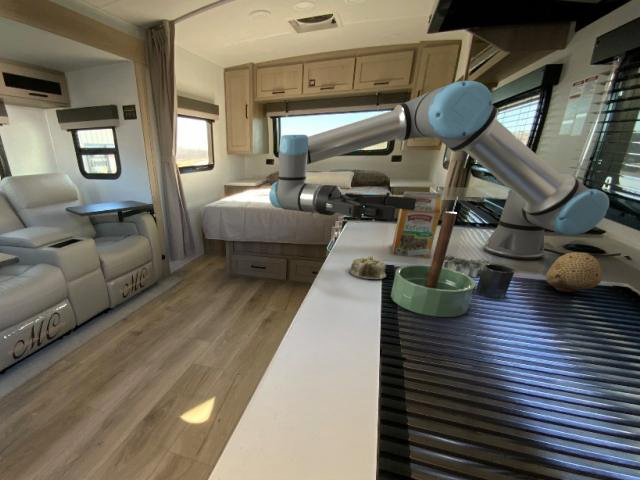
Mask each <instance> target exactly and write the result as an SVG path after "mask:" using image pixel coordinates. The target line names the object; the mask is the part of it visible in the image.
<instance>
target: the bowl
mask: <svg viewBox="0 0 640 480" xmlns="http://www.w3.org/2000/svg"><path fill="white" fill-rule="evenodd" d="M430 267H431V264H408V265H407V264H406V265H402V266H400V267H398V268H397V269H396V270H395V274H394V278H393V283H392V288H391V292H390V297H391V300H392V301H393V302H394V303H395V304H397V306H399V307H402V308H404V309H405V310H408V311H410V312H413V313H415V314H420V315H423V316H430V317H435V318H436V317H438V318H453V317H454V318H455V317H459V316H463V315H465V314H466V313H467V312H468V310H469V308H470V305H471V302H472V299H473V296H474V293H475V291H476V288H477V282H476V281H475V280H474V279H473V277H470V276H468V275H465V274H463V273H461V272H458V271H455V270H452V269H448V268H443V267H442V270H441V274H440V277H439V281H438V284H437V288H436V289H434V288H428V287H425V286H426V282H427V278H428V275H429V271H430Z"/></svg>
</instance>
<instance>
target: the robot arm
mask: <svg viewBox="0 0 640 480" xmlns="http://www.w3.org/2000/svg"><path fill="white" fill-rule="evenodd" d="M498 113H499V109H498V108H497V107H496V106H495V105H494V104H493V95H492V93H491V91H490V89H489V88H488V87H487V86H486V85H485V84H483V83H482V82H479V81H476V80H460V81H455V82H452V83H449V84H448V85H445V86H442V87H437V88H434V89H432V90H430V91H428V92H425V93H424V94H421V95H419V96H418V97H417V96H416V97H415V98H413V99H411V100H408V101H406V102H402V103H400V104H397V105H396V106H395V107H394V108H393V110H390V111H387V112H384V113H380V114H377V115H374V116H370V117H367V118H364V119H361V120H357V121H354V122H352V123H348V124H345V125H342V126H339V127H334V128H332V129H329V130H326V131H322V132H319V133H316V134H313V135H309V136H308V135H307V134H283V135H281V136H280V139H279V146H278V147H279V148H278V154H277V155H278V157H277V158H278V181H275V182H273V183H272V185H271V187H270V191H269V192H268V193H269V194H268V195H269V196H268V197H269V202H270V204H271V205H272V206H273V207H275V208H278V209H281V210H285V211H297V212H304V213H309V215H310V216H312V215H313V214H319V215H323V216H334V215H336V213H337V214H340V215H343V216H346V217H349V218H356V219H355V220H362V218H363V217H366V218H372V219H381V220H387V221H394V219H395V214H396V209H398V210H400V209H406V210H414V208H415V203H416V198H407V197H403V196H394V195H391V193H390V192H386V194H382V193H381V194H377V193H376V194H375V193H374V194H373V193H352V192H345V193H342V190H341V189H340V187H339V186H338V185H334V184H323V183H310V182H309V183H308V182H307V183H306V181H307V166H308V165H310V164H314V163H318V162H321V161H325V160H327V159H331V158H335V157H338V156H341V155H346V154H348V153H349V154H350V153H352V152H356V151H359V150H363V149H366V148H369V147H372V146H377V145H380V144H384V143H388V142H390V141H394V140H397V141H398V142H403V141H407V140H411V139H422V138H429V139H431V138H433V139H437V140H439V141H440V142H441V143H442V144H443V145H445V146H446V147H447V148H448V149H450V150H451V151H452V152H454V153H455V152H456V153H457V152H461V151H463V152H465V153H466V154H467V155H469V156H470V157H471V158H473V160H474V161H476V163H478V164H479V165H480V166H482V167H483V168H484V169H485V170H486V171H487V172H489V173H490V174H491V175H492V176H494V178H496V179H497V180H498V181H499V182H501V183H502V184H503V186H506V188H508V189H509V190H508V192H507V197H506V200H505V203H504V205H503V208H502V212H501V215H500V218H499V222H498V225H497V227H496V228H495V229H494V230H493V232H492V233H491V235H490V236H489V237H488V239H486V240H485V242H484V246H483V250H484V251H485V252H487V253H488V254H492V255H494V256H498V257H502V258H506V259H513V260H522V261H533V260H539V259H540V260H541V259H542V257H543V256H544V253H545V252H548V253H553V254H556V255H560V256H562V255H565V254H567V253H568V252H562V251H557V250H554V249H550V248H545V230H548V231H552V232H554V233H556V234H559V235H565V236H578V235H582V234H584V233H587V232H588V231H590V230H593V228H595V227H596V226H597V225H599V223H601V221H602V220H604V217H606V214H607V211H608V209H609V207H610V199H609V196H608V194H606V193H605V192H604V191H601V190H599V189H597V188H589V187H587V186H585V185H584V184H583V183H582V182H580V180H578V179H577V178H576V177H575V176H574V175H573V174H571V173H560V174H559V173H558V172H557V171H556V170H555V169H554V168H553V167H551V166H550V165H549V164H548V163H546V162H545V161H544V160H543V159H542V158H541V157H540V156H539V155H538V154H536V153H535V152H534V151H533V150H532V149H531V148H530V147H529V146H527V144H525V143H524V142H523V141H521V140H520V139H519V138H518V137H517V136H516V135H515V134H514V133H512V131H511V130H509V129H508V128H507V127H506V126H505V125H503V124H502V123H501V122H500V121H499V120H498V119H497V118H498ZM572 252H573V251H572ZM572 252H569V253H572ZM576 252H577V253H585V252H583V251H581V252H580V251H576ZM586 253H587V254H590V255H591V256H593V257H600V258H601V257H603V258H609V257H621V256H620V255H621V253H622V252H621V253H620V252H619V253H608V254H607V253H605V254H601V253H594V252H593V253H591V252H586ZM623 257H624V258H626V259H627V260H632V257H631V256H630V255H628V256H623Z"/></svg>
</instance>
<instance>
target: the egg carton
mask: <svg viewBox="0 0 640 480" xmlns="http://www.w3.org/2000/svg"><path fill="white" fill-rule="evenodd" d="M486 264H490V261H489V260H486V259H476V260H475V259H466V258H462V257H461V258H460V257H455V256H453V255H451V254H450V255H449V254H446V255H445V259H444V263H443V266H442V267H443V268H448V269H452V270H455V271H458V272H461V273H463V274H465V275H468V276H470V277H471V278H477V277H478V275H479V276H480V275H481V272H482V269H483V266H484V265H486Z"/></svg>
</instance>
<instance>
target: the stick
mask: <svg viewBox="0 0 640 480" xmlns="http://www.w3.org/2000/svg"><path fill="white" fill-rule="evenodd" d="M457 215H458V212H456V211H449V210H447V211H444V213H443V217H442V221H441V224H440V228H439V232H438V236H437V240H436V244H435V248H434V251H433V256H432V259H431V263H430V266H431V267H430V271H429V275H428V278H427V282H426V286H425V287H428V288H434V289H436V288H437V284H438V281H439V277H440V274H441V270H442V266H443V263H444V259H445V256H447V251H448V248H449V244H450V240H451V237H452V233H453V230H454V225H455V222H456V219H457Z"/></svg>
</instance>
